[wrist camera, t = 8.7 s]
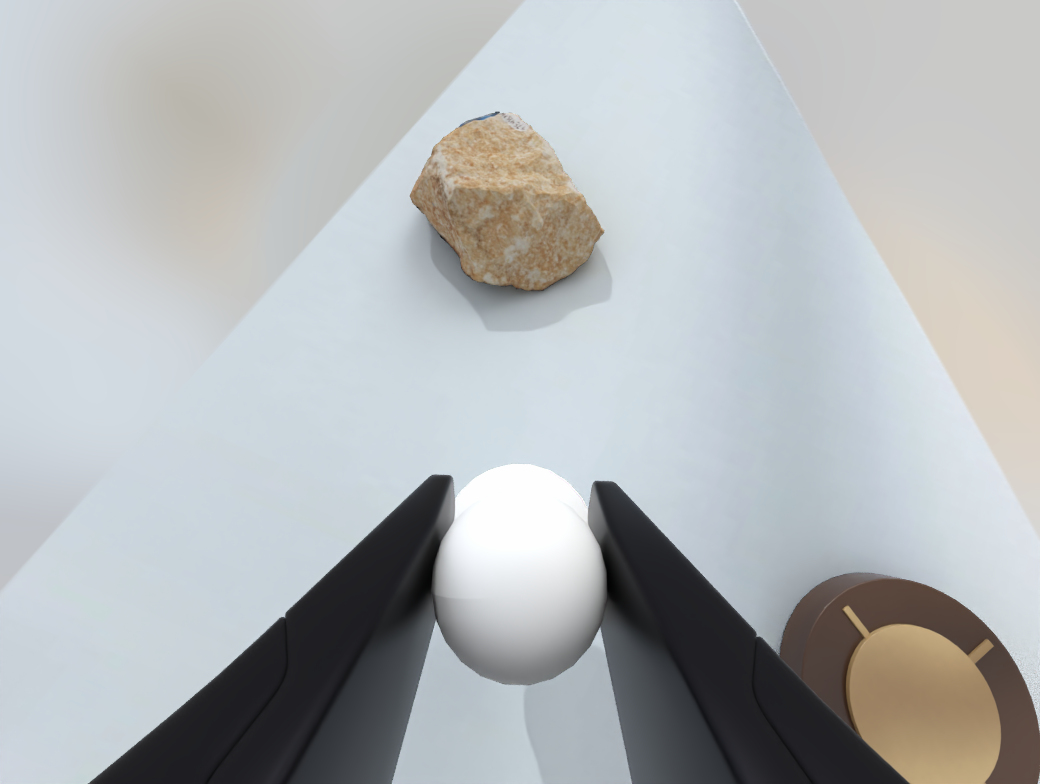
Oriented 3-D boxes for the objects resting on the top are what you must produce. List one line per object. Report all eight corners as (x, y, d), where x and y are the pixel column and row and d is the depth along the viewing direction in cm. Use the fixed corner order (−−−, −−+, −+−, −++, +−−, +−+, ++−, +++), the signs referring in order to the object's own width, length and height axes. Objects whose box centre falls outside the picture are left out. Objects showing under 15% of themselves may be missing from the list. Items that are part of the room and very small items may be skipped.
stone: (511, 141, 26) (510, 69, 21) (608, 253, 24) (629, 197, 19) (403, 200, 24) (378, 136, 20) (494, 324, 22) (489, 282, 18)
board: (1044, 727, 17) (1100, 751, 15) (891, 879, 16) (935, 923, 14) (881, 532, 19) (915, 535, 18) (735, 650, 18) (757, 665, 16)
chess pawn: (578, 461, 14) (669, 393, 6) (599, 610, 13) (761, 815, 4) (445, 474, 14) (333, 425, 6) (451, 627, 13) (314, 875, 4)
